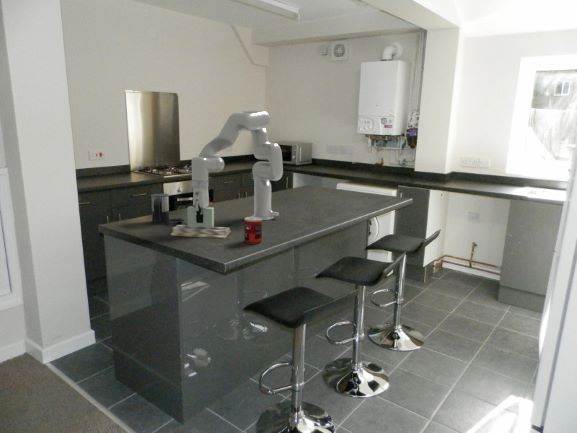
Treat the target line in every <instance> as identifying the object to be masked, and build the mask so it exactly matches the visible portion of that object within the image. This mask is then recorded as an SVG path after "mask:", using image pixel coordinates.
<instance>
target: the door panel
mask: <svg viewBox="0 0 577 433" xmlns="http://www.w3.org/2000/svg"><path fill="white" fill-rule="evenodd" d="M199 208H201V207H199ZM186 210H187V211H186V212H187V214H186V215H187V225H188V226H197V227H215V207H209V206H207V207H205V208H204V209H202V215H203V223H197V222H196V211H195V208H194V206H193V205H189V206H188V207H187V209H186ZM199 210H200V211H201V209H199Z"/></svg>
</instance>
